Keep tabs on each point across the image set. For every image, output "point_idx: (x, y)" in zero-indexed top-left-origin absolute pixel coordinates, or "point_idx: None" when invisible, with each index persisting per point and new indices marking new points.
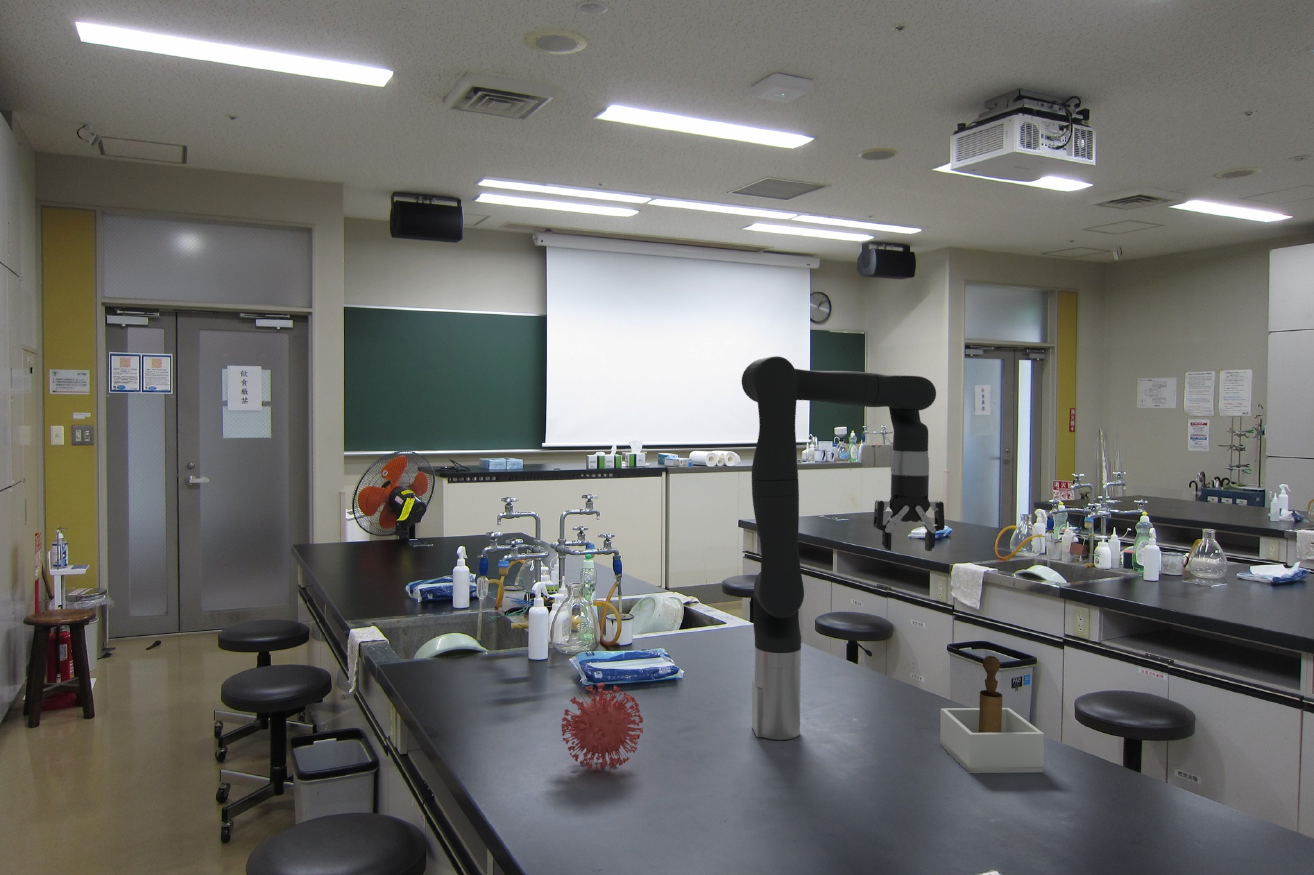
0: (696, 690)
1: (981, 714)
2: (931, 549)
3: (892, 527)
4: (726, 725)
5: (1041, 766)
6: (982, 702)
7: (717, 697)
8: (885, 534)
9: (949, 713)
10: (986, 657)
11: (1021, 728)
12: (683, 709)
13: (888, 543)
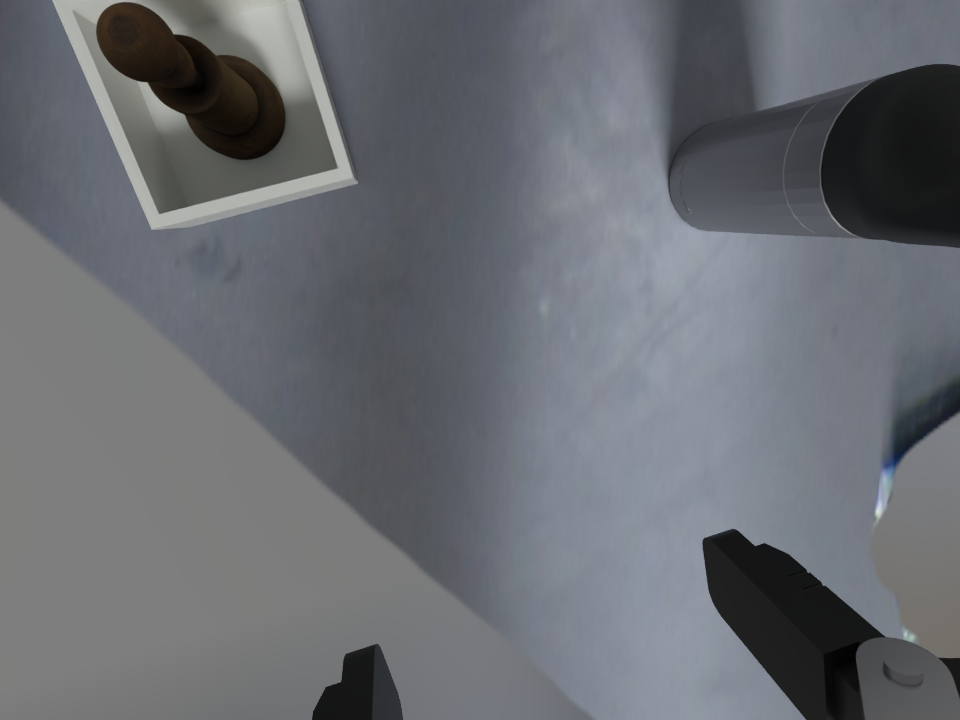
0: (858, 400)
1: (235, 75)
2: (347, 658)
3: (880, 715)
4: None
5: None
6: (222, 63)
7: (820, 369)
8: (868, 635)
9: (330, 137)
10: (148, 34)
11: (129, 120)
12: (890, 275)
13: (768, 563)
